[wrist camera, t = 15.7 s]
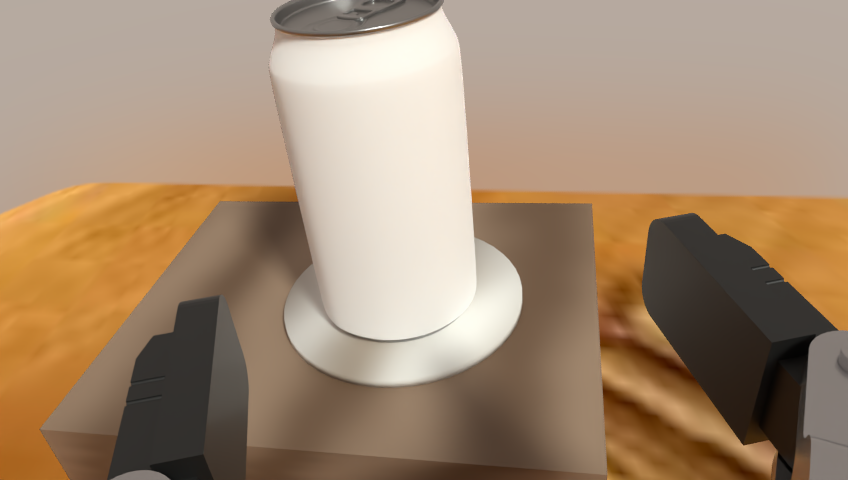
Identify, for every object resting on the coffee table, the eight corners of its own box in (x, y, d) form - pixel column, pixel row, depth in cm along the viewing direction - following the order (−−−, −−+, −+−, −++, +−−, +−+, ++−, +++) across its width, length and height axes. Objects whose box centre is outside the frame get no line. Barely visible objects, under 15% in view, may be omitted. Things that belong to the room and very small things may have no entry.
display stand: (71, 481, 27) (34, 421, 25) (233, 245, 39) (217, 195, 38) (602, 532, 23) (607, 466, 21) (589, 252, 36) (592, 196, 34)
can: (292, 319, 28) (213, 27, 21) (382, 238, 32) (339, -26, 26) (425, 369, 25) (380, 45, 18) (504, 272, 29) (492, -18, 23)
